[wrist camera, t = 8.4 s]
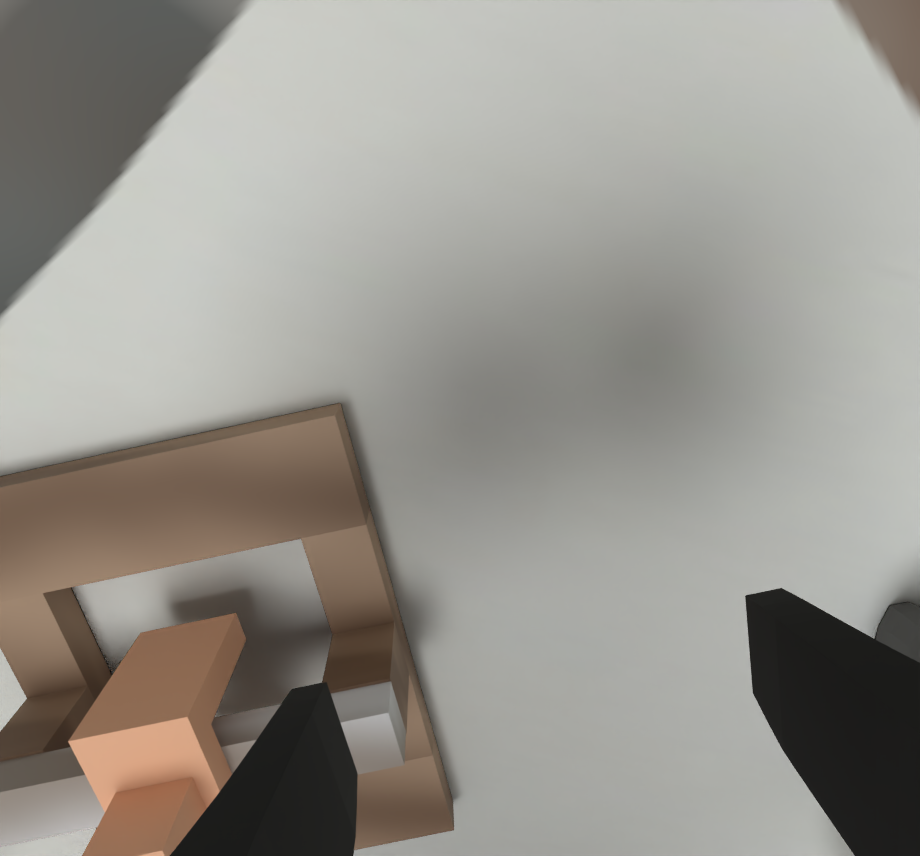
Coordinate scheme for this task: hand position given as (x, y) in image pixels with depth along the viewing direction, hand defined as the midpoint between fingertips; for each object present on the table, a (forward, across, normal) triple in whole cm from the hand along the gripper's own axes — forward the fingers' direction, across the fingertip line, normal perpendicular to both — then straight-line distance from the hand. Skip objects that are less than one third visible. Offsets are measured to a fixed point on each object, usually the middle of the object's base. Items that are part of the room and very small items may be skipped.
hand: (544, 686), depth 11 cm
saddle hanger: (+8, +10, +5) cm, 14 cm away
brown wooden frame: (+10, +10, +5) cm, 15 cm away
